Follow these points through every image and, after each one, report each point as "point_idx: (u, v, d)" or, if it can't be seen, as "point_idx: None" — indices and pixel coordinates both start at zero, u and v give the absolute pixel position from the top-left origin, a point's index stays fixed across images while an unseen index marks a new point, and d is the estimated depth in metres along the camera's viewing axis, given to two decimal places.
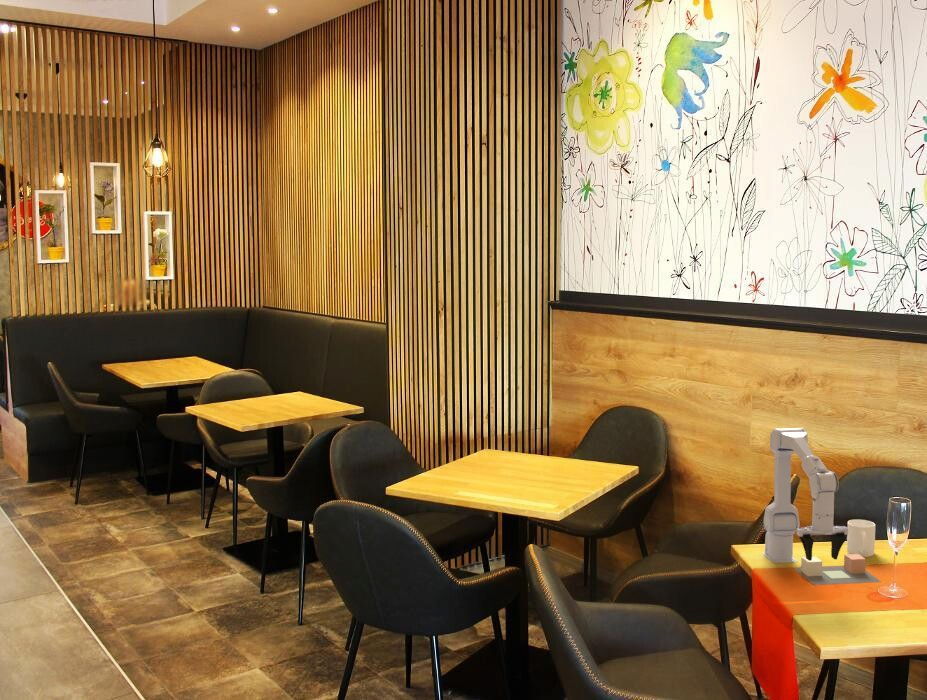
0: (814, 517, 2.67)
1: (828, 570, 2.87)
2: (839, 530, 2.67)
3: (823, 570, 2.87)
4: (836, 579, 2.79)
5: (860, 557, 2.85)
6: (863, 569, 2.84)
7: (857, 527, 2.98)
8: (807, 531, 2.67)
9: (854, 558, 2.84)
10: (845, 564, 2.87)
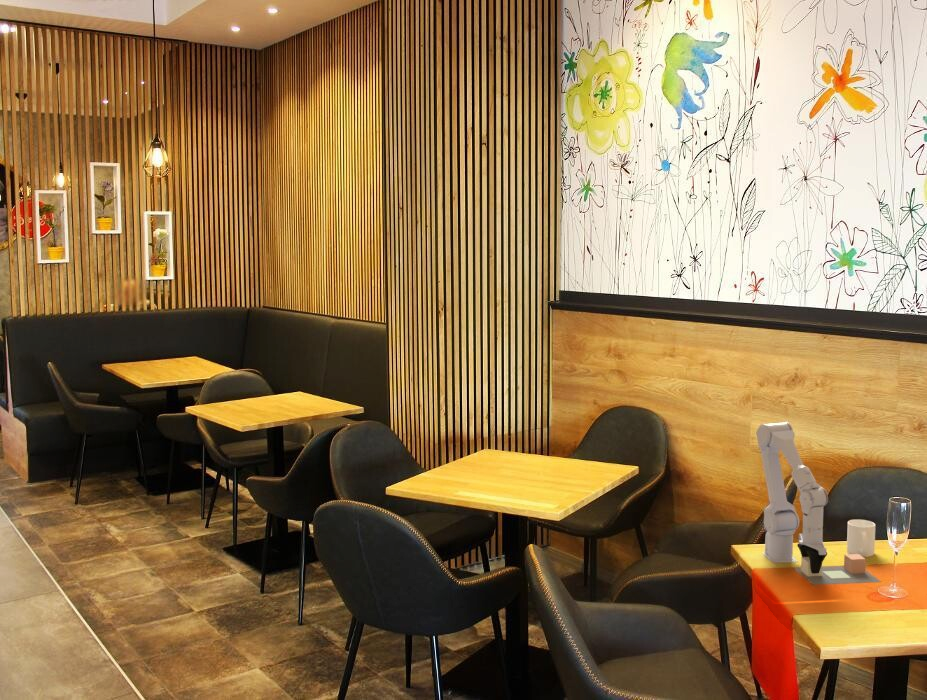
0: None
1: (828, 570, 2.87)
2: (813, 546, 2.79)
3: (823, 570, 2.87)
4: (836, 579, 2.79)
5: (860, 557, 2.85)
6: (863, 569, 2.84)
7: (857, 527, 2.98)
8: (800, 536, 2.88)
9: (854, 558, 2.84)
10: (845, 564, 2.87)
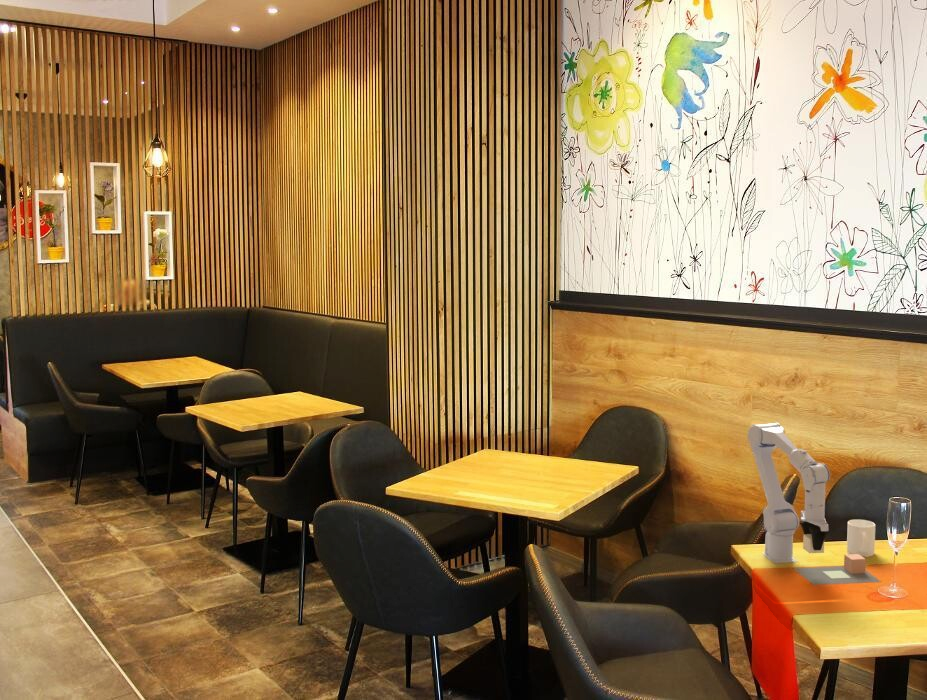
0: None
1: (828, 570, 2.87)
2: (815, 523, 2.78)
3: (823, 570, 2.87)
4: (836, 579, 2.79)
5: (860, 557, 2.85)
6: (863, 569, 2.84)
7: (857, 527, 2.98)
8: (802, 514, 2.87)
9: (854, 558, 2.84)
10: (845, 564, 2.87)
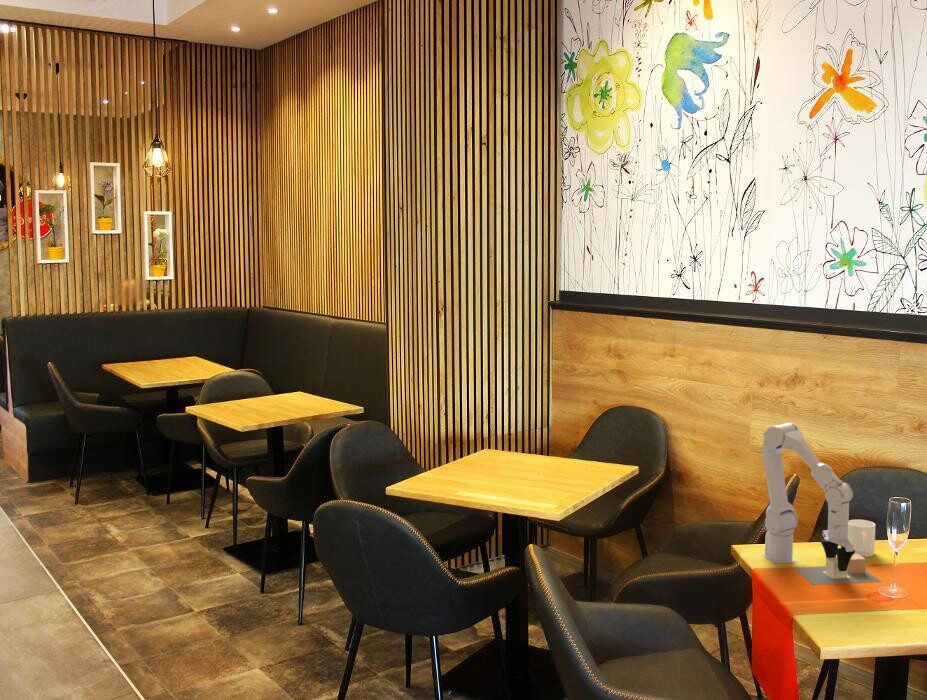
0: None
1: None
2: (839, 543, 2.77)
3: (823, 570, 2.87)
4: (836, 579, 2.79)
5: (860, 557, 2.85)
6: (863, 569, 2.84)
7: (857, 527, 2.98)
8: (824, 533, 2.86)
9: (854, 558, 2.84)
10: None
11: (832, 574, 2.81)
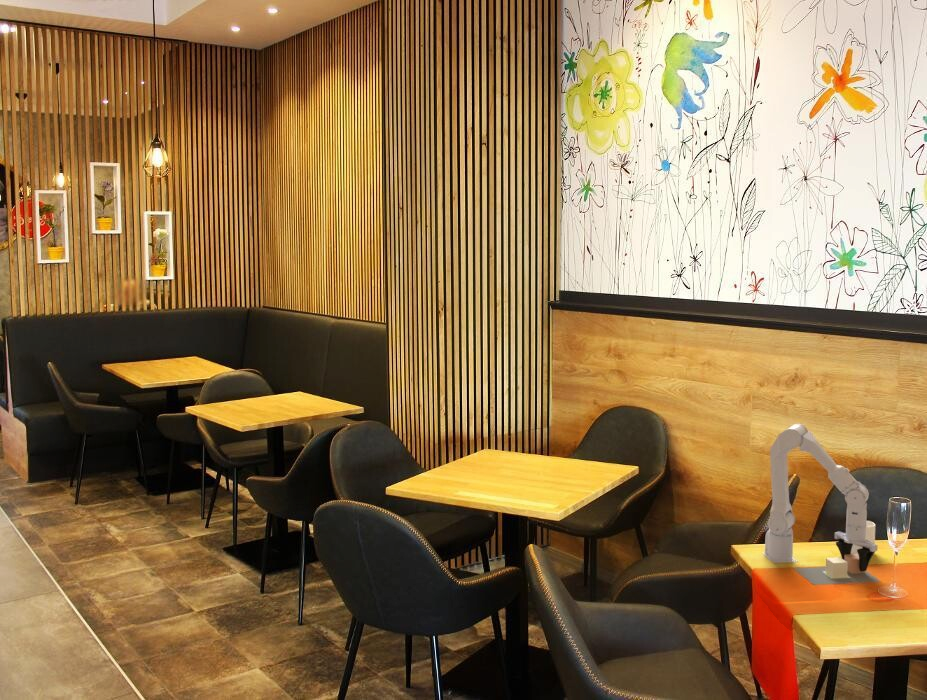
0: None
1: None
2: (863, 544, 2.80)
3: (823, 570, 2.87)
4: (836, 579, 2.79)
5: None
6: None
7: None
8: (839, 535, 2.89)
9: (854, 558, 2.84)
10: None
11: (832, 574, 2.81)
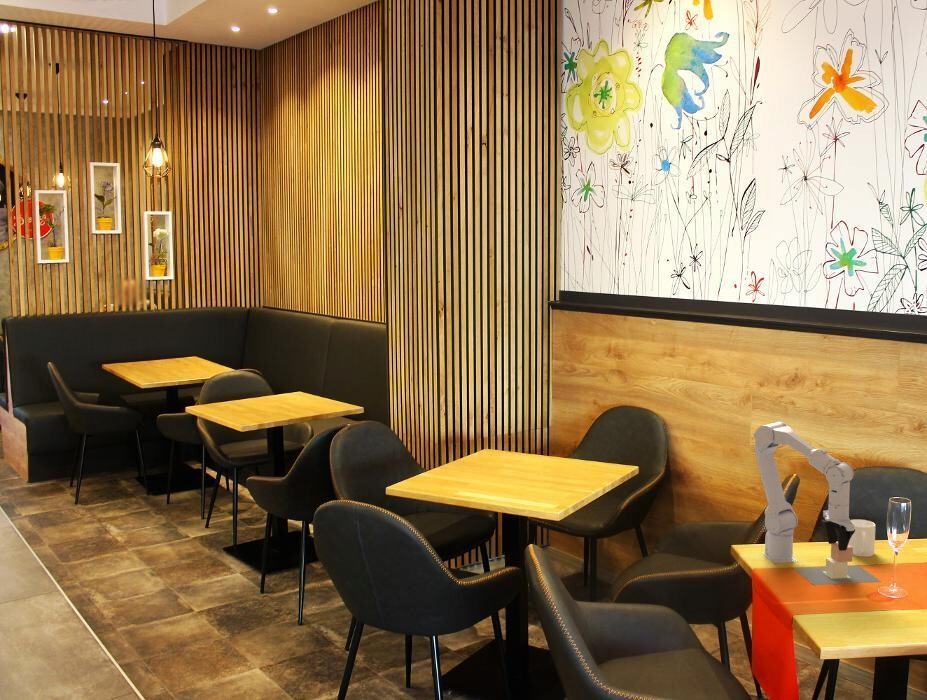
0: None
1: None
2: (840, 523, 2.76)
3: (823, 570, 2.87)
4: (836, 579, 2.79)
5: None
6: (850, 557, 2.81)
7: (857, 527, 2.98)
8: (825, 513, 2.86)
9: None
10: (832, 552, 2.84)
11: (832, 574, 2.81)
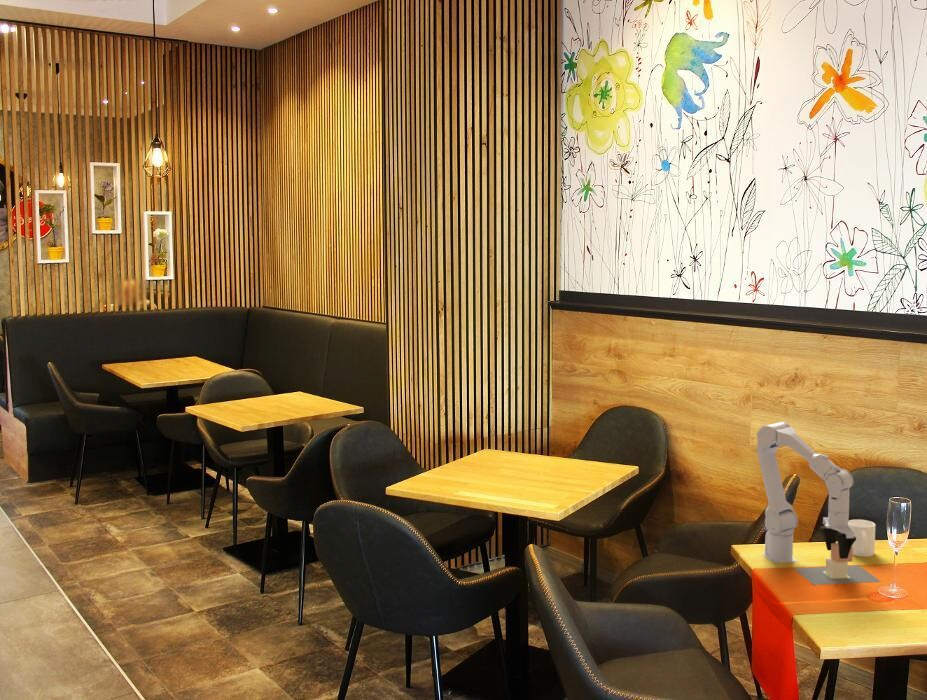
0: None
1: None
2: (840, 530, 2.77)
3: (823, 570, 2.87)
4: (836, 579, 2.79)
5: None
6: (850, 557, 2.81)
7: (857, 527, 2.98)
8: (825, 520, 2.86)
9: None
10: (832, 552, 2.84)
11: (832, 574, 2.81)
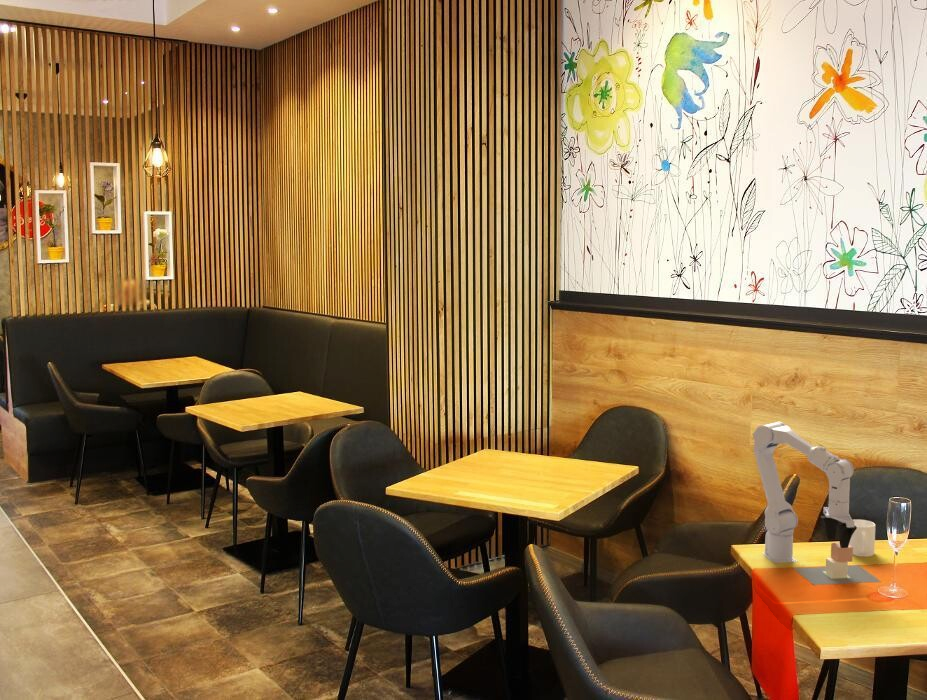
0: None
1: None
2: (840, 519, 2.76)
3: (823, 570, 2.87)
4: (836, 579, 2.79)
5: None
6: (850, 557, 2.81)
7: (857, 527, 2.98)
8: (825, 510, 2.86)
9: None
10: (832, 552, 2.84)
11: (832, 574, 2.81)
